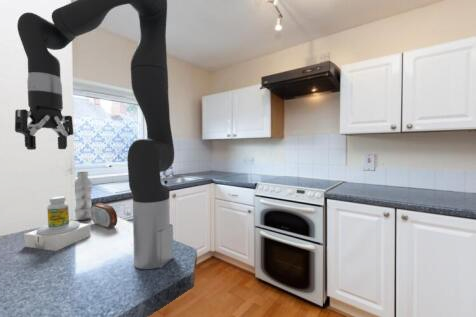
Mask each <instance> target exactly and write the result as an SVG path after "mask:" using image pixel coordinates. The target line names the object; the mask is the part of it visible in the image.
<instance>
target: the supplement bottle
mask: <svg viewBox="0 0 476 317" xmlns="http://www.w3.org/2000/svg"><path fill="white" fill-rule="evenodd" d="M49 203H50V204H48V205H47V207H46V208H47V210H46V211H47V224H48V227H49V228H50V229H59V228H63V227H66V226H68V225H69V221H70V212H69V203H68V202H66V196H64V195H61V196H60V195H58V196H54V197H50V198H49Z"/></svg>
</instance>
